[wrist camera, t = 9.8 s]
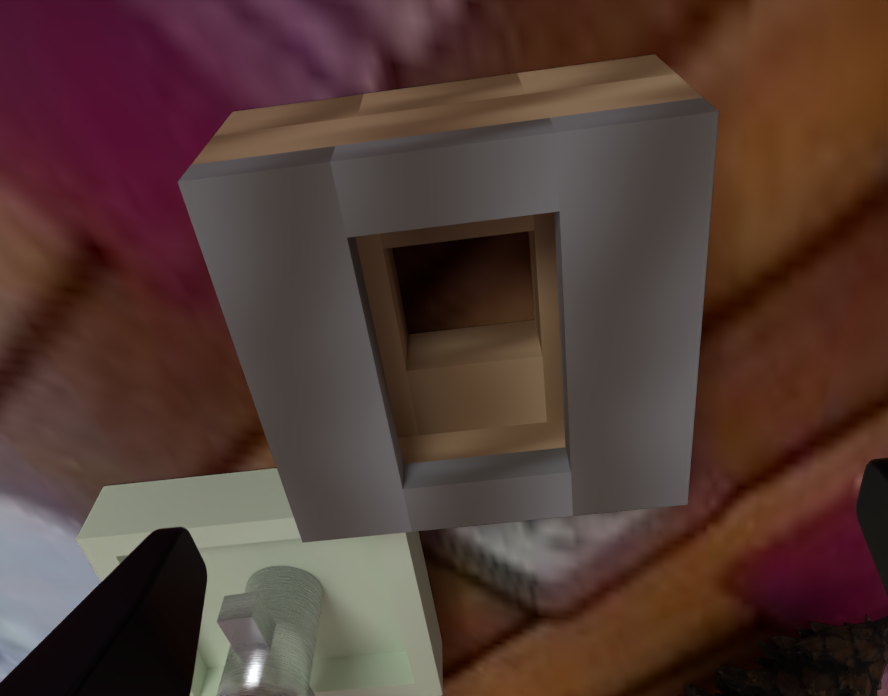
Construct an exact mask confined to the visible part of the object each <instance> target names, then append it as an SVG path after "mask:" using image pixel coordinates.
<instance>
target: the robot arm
mask: <svg viewBox="0 0 888 696" xmlns="http://www.w3.org/2000/svg"><path fill="white" fill-rule="evenodd" d="M856 513H857V518H858V522H859V525H860V527H861V530H862V532H863V535H864V537H865V540H866V543H867V545H868V548H869V550H870V553H871V555H872V558H873V560H874V563H875V566H876V568H877V571H878V573H879V576H880V578H881V581H882V583H883V586H884V588H885V591H886V594H887V596H888V458H882V459H874V460H871V461H870V462H869V463H868V464H867V465H866V468H865V471H864V475H863V479H862V483H861V487H860V491H859V495H858V499H857V504H856ZM206 586H207V569H206V565H205V562H204V560H203V558H202V556H201V554H200V552H199V550H198V548H197V546H196V544H195V542H194V540H193V538H192V536H191V534H190V533H189V531H188V530H187V529H186V528H184V527H172V528H162V529H157V530H155V531H153V532H152V533H150V534H149V535H148V536H147V537H146V538H145V539H144V540H143V541H142V542H141V543H140V544H139V545H138V546H137V547H136V548H135V549H134V550H133V551H132V552H131V553H130V554H129V555H128V556H127V557H126V558H125V559H124V560H123V561H122V562H121V563H120V564H119V565H118V566H117V567H116V568H115V569H114V570H113V571H112V572H111V573H110V574H109V575H108V576H107V577H106V578H105V579H104V580H103V581H102V582H101V583H100V584H99V585H98V586H97V587H96V588H95V589H94V590H93V591H92V592H91V593H90V594H89V595H88V596H87V597H86V598H85V599H84V600H83V601H82V602H81V603H80V604H79V605H78V606H77V607H76V608H75V609H74V610H73V611H72V612H71V613H70V614H69V615H68V616H67V617H66V618H65V619H64V620H63V621H62V622H61V623H60V624H59V625H58V626H57V627H56V628H55V629H54V630H53V631H52V632H51V633H50V634H49V635H48V636H47V637H46V638H45V639H44V640H43V641H42V642H41V643H40V644H39V645H38V646H37V647H36V648H35V649H34V650H33V651H32V652H31V653H30V654H29V655H28V656H27V657H26V658H25V659H24V660H23V661H22V662H21V663H20V664H19V665H18V666H17V667H16V668H15V669H14V670H13V671H12V672H11V673H10V674H9V675H8V676H7V677H6V678H5V679H4V680H3V681H1V682H0V696H190V692H191V688H192V682H193V676H194V670H195V663H196V656H197V649H198V642H199V635H200V628H201V621H202V614H203V607H204V600H205V593H206Z"/></svg>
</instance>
